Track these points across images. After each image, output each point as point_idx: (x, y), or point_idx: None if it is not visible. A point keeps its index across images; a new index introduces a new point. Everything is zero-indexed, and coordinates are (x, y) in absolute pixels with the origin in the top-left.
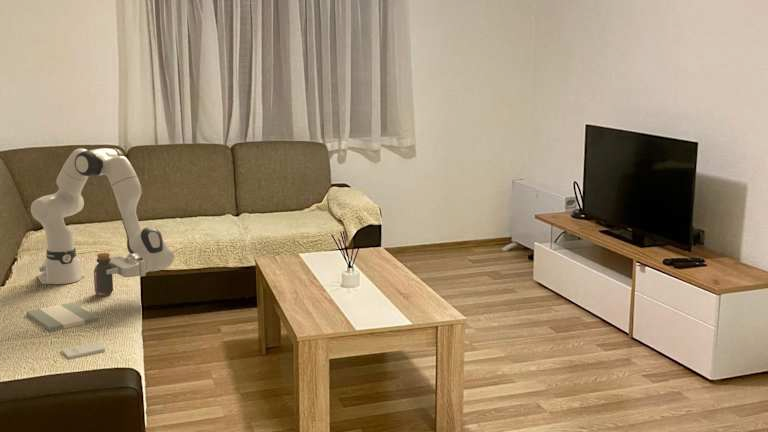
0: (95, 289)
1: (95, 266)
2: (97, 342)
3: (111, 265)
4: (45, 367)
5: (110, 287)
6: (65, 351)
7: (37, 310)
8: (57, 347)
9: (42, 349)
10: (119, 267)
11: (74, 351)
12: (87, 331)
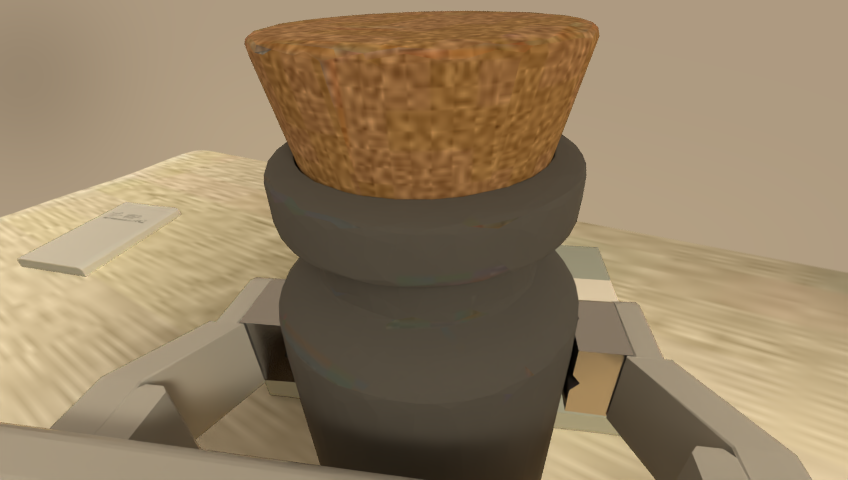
0: None
1: None
2: (75, 264)
3: (303, 364)
4: (156, 180)
5: None
6: (154, 208)
7: (591, 270)
8: (216, 219)
9: (248, 201)
10: (1, 424)
11: (123, 216)
12: (215, 307)
